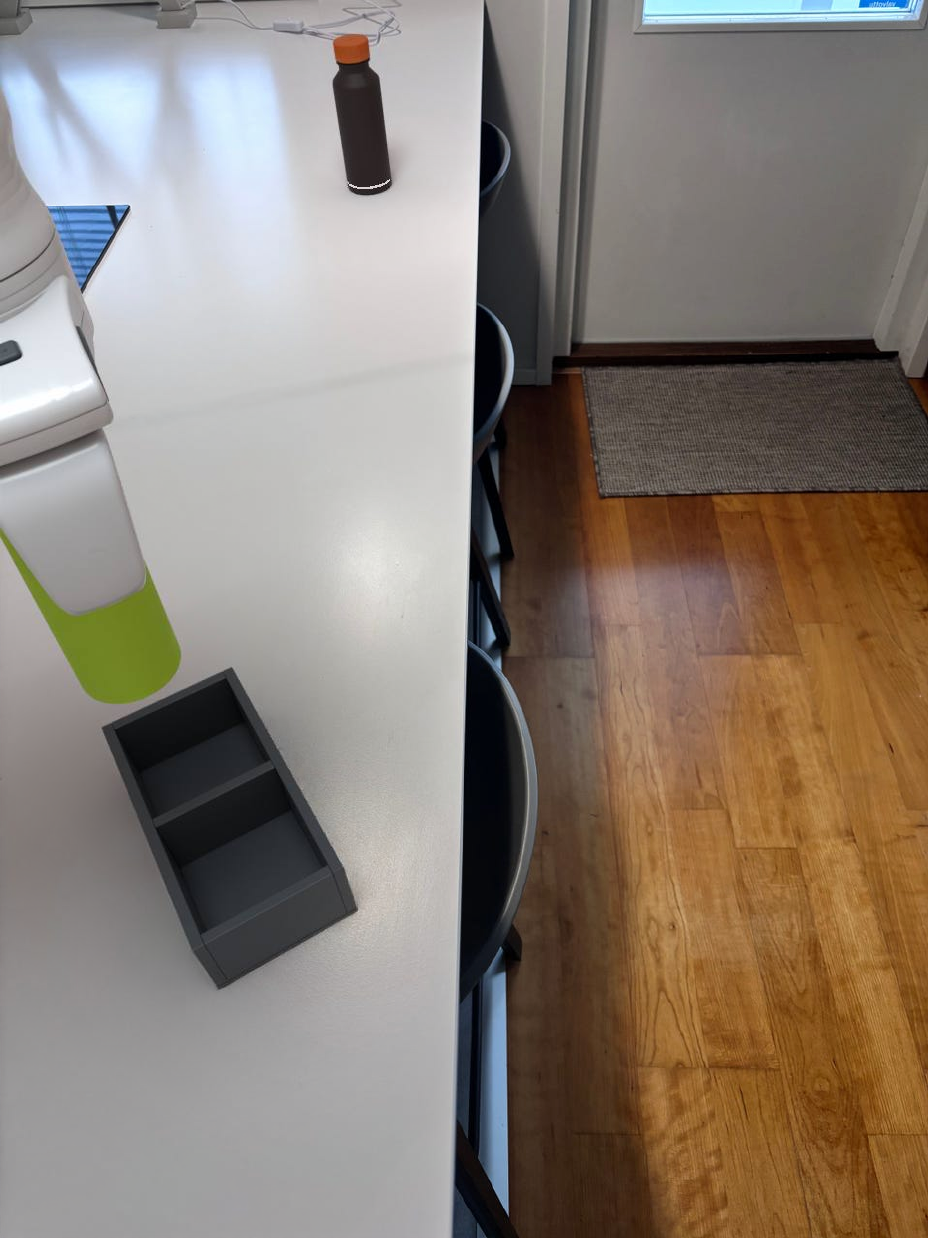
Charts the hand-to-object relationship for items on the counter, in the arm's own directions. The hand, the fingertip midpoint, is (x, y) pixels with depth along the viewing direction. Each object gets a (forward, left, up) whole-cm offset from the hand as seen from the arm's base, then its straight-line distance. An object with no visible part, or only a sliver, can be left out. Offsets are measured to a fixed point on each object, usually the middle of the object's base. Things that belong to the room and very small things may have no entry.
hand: (90, 554), depth 50 cm
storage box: (0, 0, -30) cm, 30 cm away
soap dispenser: (0, -1, -9) cm, 9 cm away
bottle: (+59, +94, -30) cm, 115 cm away
